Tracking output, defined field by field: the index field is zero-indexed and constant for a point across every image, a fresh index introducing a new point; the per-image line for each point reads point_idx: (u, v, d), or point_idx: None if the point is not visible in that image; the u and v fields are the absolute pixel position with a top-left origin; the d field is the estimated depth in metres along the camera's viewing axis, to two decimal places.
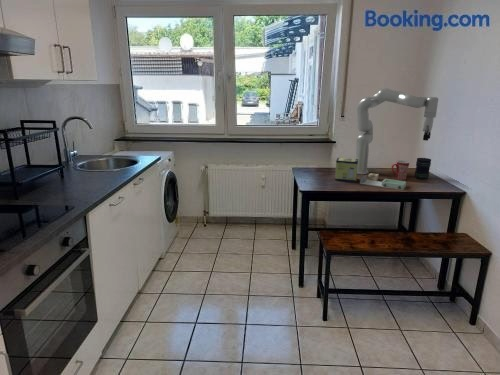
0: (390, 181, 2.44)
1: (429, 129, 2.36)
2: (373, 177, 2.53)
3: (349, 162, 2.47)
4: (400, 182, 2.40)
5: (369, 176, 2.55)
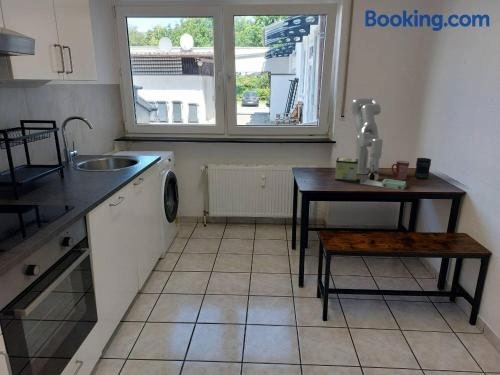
0: (390, 181, 2.44)
1: (374, 170, 2.50)
2: None
3: (349, 162, 2.47)
4: (400, 182, 2.40)
5: (369, 176, 2.55)
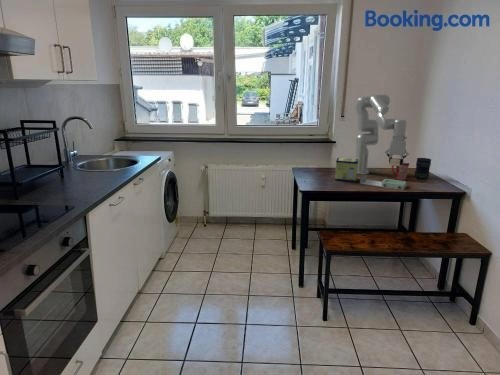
0: (390, 181, 2.44)
1: (389, 152, 2.34)
2: None
3: (349, 162, 2.47)
4: (400, 182, 2.40)
5: None
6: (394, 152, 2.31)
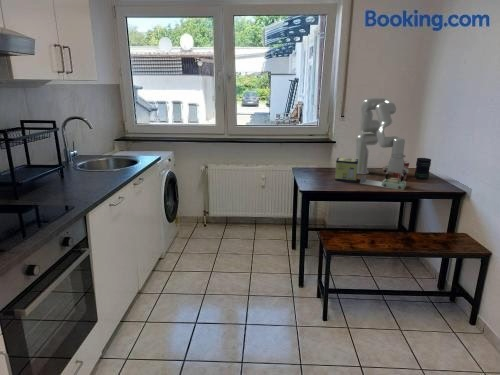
0: None
1: (387, 169, 2.37)
2: None
3: (349, 162, 2.47)
4: (400, 182, 2.40)
5: None
6: (392, 170, 2.34)
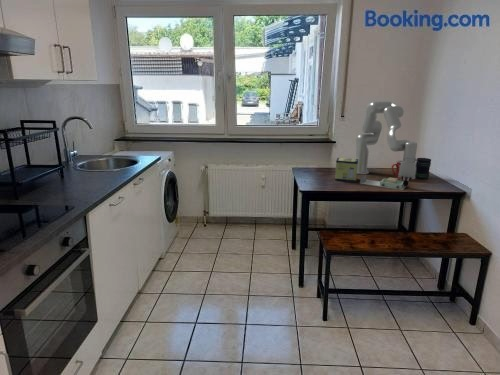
0: None
1: (401, 176, 2.33)
2: None
3: (349, 162, 2.47)
4: (398, 182, 2.40)
5: None
6: (404, 174, 2.31)
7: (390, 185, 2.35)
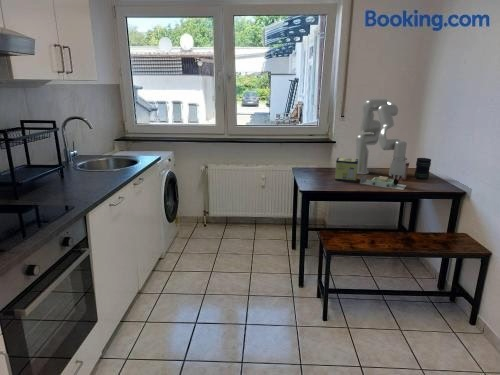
0: None
1: (391, 174, 2.36)
2: None
3: (349, 162, 2.47)
4: (389, 180, 2.44)
5: None
6: (394, 173, 2.34)
7: (380, 184, 2.38)
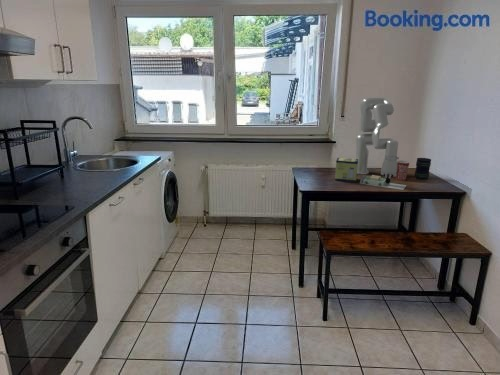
0: None
1: (383, 173, 2.39)
2: None
3: (349, 162, 2.47)
4: (381, 179, 2.47)
5: None
6: (386, 171, 2.37)
7: (373, 182, 2.41)
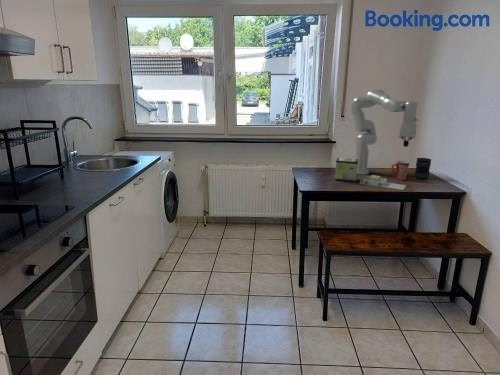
0: None
1: (401, 136, 2.36)
2: None
3: (349, 162, 2.47)
4: (381, 179, 2.47)
5: None
6: (404, 134, 2.34)
7: (373, 182, 2.41)
